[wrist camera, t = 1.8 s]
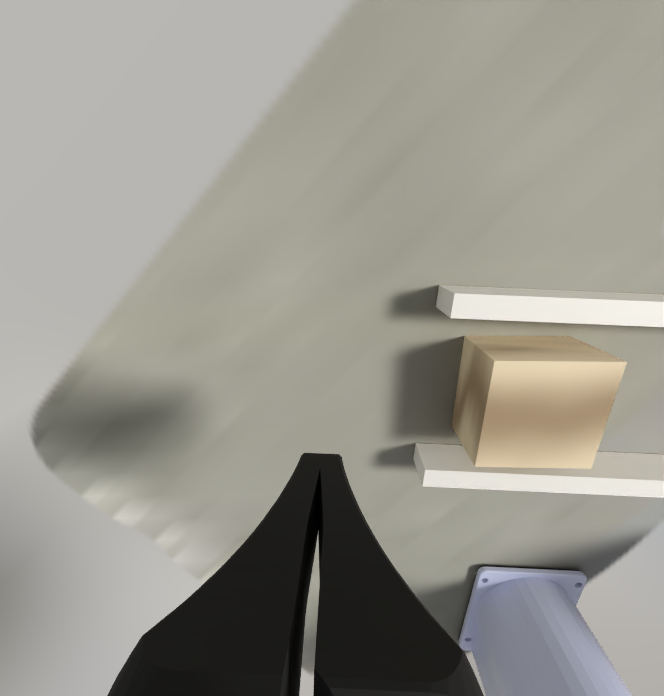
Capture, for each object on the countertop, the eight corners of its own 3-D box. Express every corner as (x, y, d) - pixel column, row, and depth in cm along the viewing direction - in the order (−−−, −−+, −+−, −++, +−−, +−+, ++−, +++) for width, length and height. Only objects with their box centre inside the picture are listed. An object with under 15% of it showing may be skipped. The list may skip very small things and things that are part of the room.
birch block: (545, 425, 21) (591, 468, 17) (450, 424, 21) (475, 467, 17) (568, 335, 18) (627, 361, 15) (463, 334, 19) (494, 360, 15)
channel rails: (656, 469, 21) (696, 499, 19) (413, 458, 21) (422, 486, 19) (737, 297, 17) (799, 307, 15) (439, 285, 17) (454, 293, 15)
